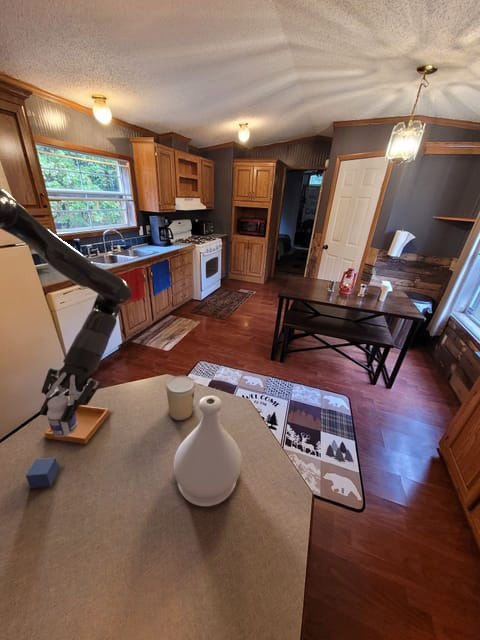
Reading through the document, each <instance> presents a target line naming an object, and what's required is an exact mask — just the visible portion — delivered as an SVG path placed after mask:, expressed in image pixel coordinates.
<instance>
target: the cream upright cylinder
mask: <svg viewBox="0 0 480 640" xmlns="http://www.w3.org/2000/svg"><path fill="white" fill-rule="evenodd" d="M195 388H196V383H195V381H194V380H193V378H191V377H190V376H187V375H177V376H173V377H171V378H170V379H168V381H167V382H166V385H165V390H166V397H167V404H168V411H169V416H170V417H171V418H172V419H174V420H176V421H183V420H186V419H188V418H190V417H191V416H192V414H193V410H194V398H195Z"/></svg>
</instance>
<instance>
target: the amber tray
mask: <svg viewBox="0 0 480 640" xmlns="http://www.w3.org/2000/svg"><path fill="white" fill-rule="evenodd" d="M110 413H111V412H110V408H105V407H97V406H90V405H80V406H78V408H77V410H76V412H75V414H76V418H77V422H78V427H77V429H76V430H75V431H74V432H73V433H71V434H69V435H67V436H64V437H56V436H54V435H53V433H52V430H51V427H49V428H48V429H47V430H46V431H44V436H45V438H46V439H50V440H58V441H64V442H71V443H77V444H78V443H79V444H84V445H86V444H87V443H88V442H89V440H90V439H91V438H92V437H93V435H94V434H95V432H96V431H97V430H98V429H99V427H100V426H101V425H102V424H103V422H104V421H106V419H107V417H108V416H109V415H110Z"/></svg>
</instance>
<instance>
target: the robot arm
mask: <svg viewBox="0 0 480 640" xmlns="http://www.w3.org/2000/svg"><path fill="white" fill-rule="evenodd" d="M0 230H2V231H4V232H6V233H7V234H9V235H11V236H13V237H15V238H17V239H18V240H20V241H21V242H23V243H25V245H27V246H28V247H30V248H31V249H32V250H33V251H34V252H35V253H36V254H37V255H38V256H40V257H41V259H43V261H44V262H45V263H47V265H49V266H50V267H51V268H52V269H53V270H55V271H56V272H57V273H59V274H60V275H62V276H63V277H65V278H66V279H68V280H69V281H71V282H73V283H74V284H76V285H77V286H78V287H81V288H86V289H89V290H92V291H93V292H95V293H96V294H97V295H96V297H95V300H94V302H93V304H92V307H91V310H90V312H89V313H88V314H87V317H86V318H85V320H84V323H83V324H82V325H81V326H82V327H81V328H80V330H79V331H78V333H76V335H75V337H74V339H73V341H72V343H71V345H70V347H69V349H68V351H67V353H66V354H65V357H64V358H63V361H62V362H63V366H62V367H61V368H60V369H55V368H49V369H48V371H47V374H46V377H45V379H44V382H43V385H42V388H41V391H40V392H41V394H44V395H45V399H44V402H43V404H42V405H41V408H40V411H39V415H40V416H46V417H47V412H48V410H49V409H48V405H47V404H48V401H49V400H50V399H52V398H54V397H56V396H60V395H63V393H65V392H66V391H67V390H68V395H69V398H68V400H69V405H67V406H66V409H65V411H64V413H63V415H62V417H61V419H60V421H61V422H69V421H70V420H72V418H73V416H74V414H75V412H76V410H77V408H78V406H80V405H84V406H88V404H89V403H90V402H91V400H92V398H93V397H94V396H95V394H96V393H97V392H98V391H97V390H98V389H99V388H100V386H101V385H102V384H101V382H100V381H98V380H95V379H93V373H94V372H96V371H97V369H98V367H99V365H100V362H101V360H102V358H103V356H104V354H105V351H106V350H107V347H108V344H109V341H110V338H111V336H112V334H113V332H114V329H115V328H116V325H117V317H118V315H119V313H120V312H121V309H122V306H123V305H125V304H127V303H128V302H129V301H130V299H131V298H132V294H133V293H132V289H131V286H130V285H129V283H127V282H126V281H125V280H124V279H122V278H121V277H120V276H118V275H117V274H114V273H112V272H111V271H108V270H106V269H104V268H102V267H100V266H98V265H97V264H96V263H94V262H93V261H92V260H90V259H89V258H87V257H86V256H85V255H84V254H82V253H81V252H79V251H78V250H76V249H75V248H73V246H71V245H70V244H68V243H67V242H65V241H63V240H62V239H61V238H59V237H58V236H57V235H56V234H54V233H53V232H52V231H51V230H50V229H48V228H47V227H45V226H44V225H43V224H42V223H41V222H40V221H38V220H37V218H35V217H34V216H33V215H32V214H31V213H29V211H27V210H26V209H25V208H24V206H22V205H21V204H20V203H19V202H18V201H17V200H16V199H15V198H13V197H12V196H11V195H10V194H9V193H8V192H7V191H5V190H4V189H2V188H1V187H0Z"/></svg>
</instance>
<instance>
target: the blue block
mask: <svg viewBox="0 0 480 640" xmlns="http://www.w3.org/2000/svg"><path fill="white" fill-rule="evenodd" d="M59 470H60V467H59V465H58V461H57V457H46V458H44V457H43V458H35V460H34V462H33V463H32V465H31V467H30V468H29V470H28V471H27V473H26V474H25V478H26V480H27V483H28V486H29V488H30V489H33V488H43V487H51V486H52V484H53V482H54V481H55V478H56V476H57V474H58V473H59Z"/></svg>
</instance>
